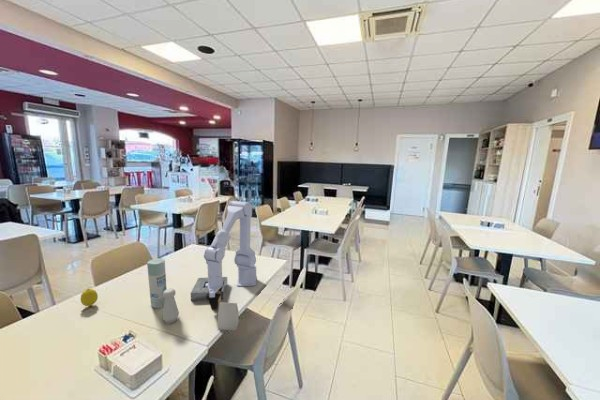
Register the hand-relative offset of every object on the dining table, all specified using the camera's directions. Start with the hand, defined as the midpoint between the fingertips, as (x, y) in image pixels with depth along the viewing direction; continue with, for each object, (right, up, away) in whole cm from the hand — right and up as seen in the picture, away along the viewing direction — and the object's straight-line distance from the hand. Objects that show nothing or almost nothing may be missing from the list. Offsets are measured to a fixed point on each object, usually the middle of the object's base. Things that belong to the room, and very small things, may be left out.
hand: (216, 303), depth 109 cm
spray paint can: (-25, -1, +2) cm, 26 cm away
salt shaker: (-15, -3, -9) cm, 18 cm away
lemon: (-53, -1, -1) cm, 53 cm away
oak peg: (0, -2, 0) cm, 2 cm away
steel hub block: (-7, 0, +12) cm, 14 cm away
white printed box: (+9, -5, -11) cm, 15 cm away
